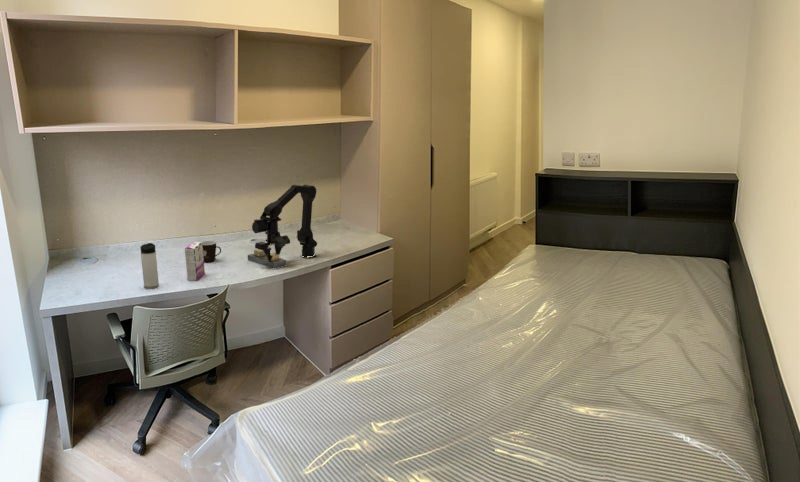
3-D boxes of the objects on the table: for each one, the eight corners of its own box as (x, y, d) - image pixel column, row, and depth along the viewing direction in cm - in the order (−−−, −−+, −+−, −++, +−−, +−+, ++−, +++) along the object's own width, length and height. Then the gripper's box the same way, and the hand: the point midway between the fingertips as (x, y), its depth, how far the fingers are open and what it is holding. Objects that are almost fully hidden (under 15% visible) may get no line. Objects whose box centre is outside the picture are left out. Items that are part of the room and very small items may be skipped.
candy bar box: (195, 273, 288) (192, 241, 284) (205, 273, 288) (202, 241, 284) (186, 280, 277) (184, 247, 273) (197, 281, 277) (194, 248, 273)
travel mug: (161, 284, 272) (157, 242, 267) (155, 289, 266) (152, 246, 261) (147, 284, 272) (143, 242, 267) (141, 288, 266) (137, 246, 260)
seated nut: (261, 259, 314) (260, 248, 312) (266, 260, 311) (265, 250, 310) (254, 260, 311) (253, 250, 309) (259, 262, 308) (259, 251, 306)
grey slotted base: (260, 257, 317) (259, 251, 317) (286, 265, 304) (286, 260, 303) (247, 260, 311) (247, 254, 311) (274, 269, 298) (274, 263, 297)
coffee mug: (197, 260, 308) (196, 242, 306) (212, 257, 314) (211, 239, 312) (208, 265, 300) (206, 247, 298) (223, 262, 306) (222, 244, 304)
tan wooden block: (274, 263, 307) (273, 252, 306) (279, 265, 305) (279, 254, 303) (267, 265, 304) (267, 254, 302) (272, 266, 301) (272, 255, 300)
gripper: (267, 236, 288) (268, 266, 292) (296, 229, 302) (297, 258, 306) (253, 232, 294) (255, 261, 298) (282, 225, 308) (283, 254, 312)
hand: (273, 259), depth 303 cm, fingers open, 5 cm apart
